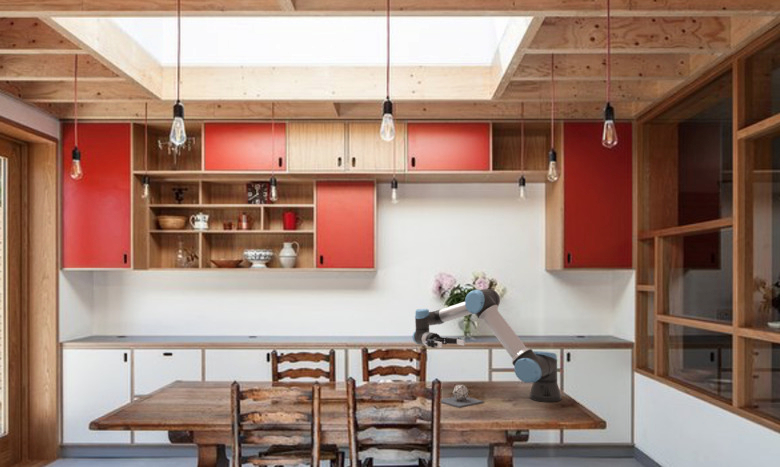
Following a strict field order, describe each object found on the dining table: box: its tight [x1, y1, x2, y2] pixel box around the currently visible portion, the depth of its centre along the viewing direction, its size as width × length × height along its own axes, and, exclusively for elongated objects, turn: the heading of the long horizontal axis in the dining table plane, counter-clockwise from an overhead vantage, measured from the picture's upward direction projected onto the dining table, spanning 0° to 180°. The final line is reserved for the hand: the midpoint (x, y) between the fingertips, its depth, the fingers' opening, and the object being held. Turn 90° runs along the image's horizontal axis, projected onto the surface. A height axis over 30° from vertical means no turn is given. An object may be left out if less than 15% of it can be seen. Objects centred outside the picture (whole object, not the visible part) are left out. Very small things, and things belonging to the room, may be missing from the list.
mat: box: [440, 396, 484, 409], centre depth 305 cm, size 16×16×1 cm
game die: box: [450, 383, 471, 401], centre depth 306 cm, size 9×8×10 cm
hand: (453, 344), depth 317 cm, fingers open, 13 cm apart
